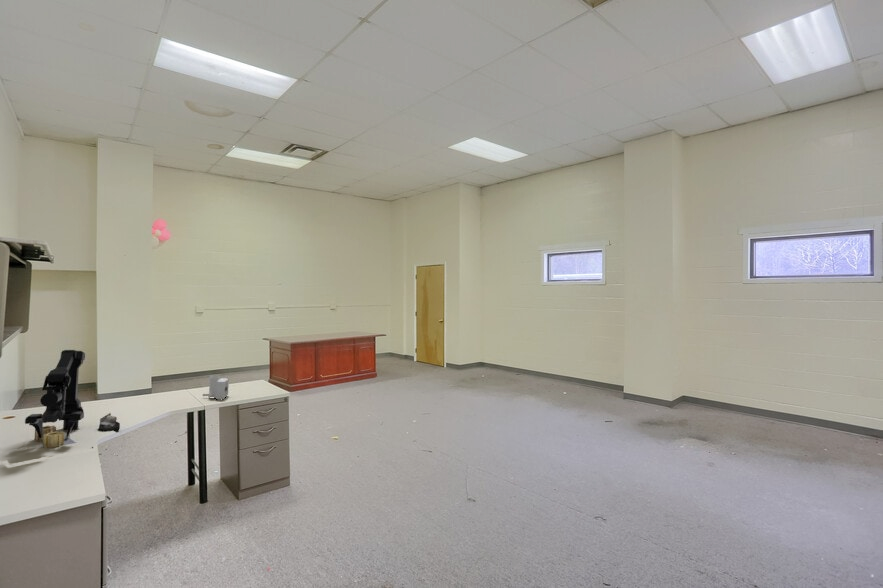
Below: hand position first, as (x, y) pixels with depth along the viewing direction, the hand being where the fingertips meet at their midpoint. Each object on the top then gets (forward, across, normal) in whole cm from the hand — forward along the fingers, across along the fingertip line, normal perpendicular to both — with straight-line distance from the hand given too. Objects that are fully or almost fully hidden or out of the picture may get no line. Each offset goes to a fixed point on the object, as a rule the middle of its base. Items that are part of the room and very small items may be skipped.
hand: (54, 437), depth 191 cm
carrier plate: (+5, -2, +6) cm, 8 cm away
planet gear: (+4, 0, 0) cm, 4 cm away
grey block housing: (+5, +59, +86) cm, 104 cm away
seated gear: (+4, -6, +11) cm, 13 cm away
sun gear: (+4, 0, +7) cm, 8 cm away
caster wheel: (+5, +15, +22) cm, 28 cm away
